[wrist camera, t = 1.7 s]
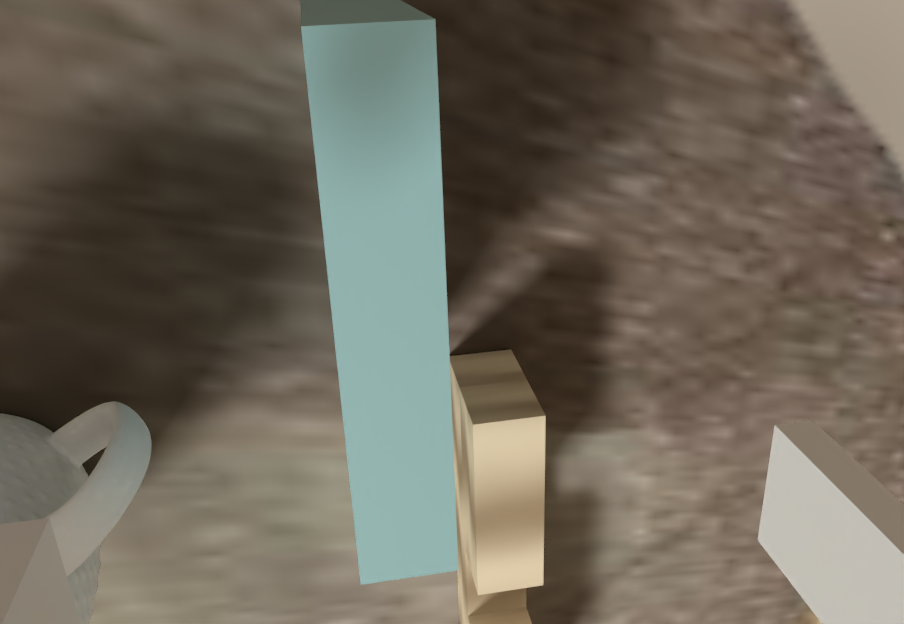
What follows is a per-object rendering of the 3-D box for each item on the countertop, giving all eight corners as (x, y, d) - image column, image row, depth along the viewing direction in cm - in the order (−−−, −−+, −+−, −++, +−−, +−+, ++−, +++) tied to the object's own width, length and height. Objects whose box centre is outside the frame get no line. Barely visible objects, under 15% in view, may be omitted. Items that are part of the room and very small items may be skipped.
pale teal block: (300, -8, 31) (300, 26, 18) (380, -11, 31) (435, 19, 18) (340, 368, 37) (360, 584, 25) (405, 360, 38) (458, 570, 25)
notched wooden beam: (448, 356, 38) (472, 424, 32) (511, 349, 38) (545, 415, 33) (462, 694, 47) (483, 791, 42) (513, 685, 47) (540, 780, 42)
